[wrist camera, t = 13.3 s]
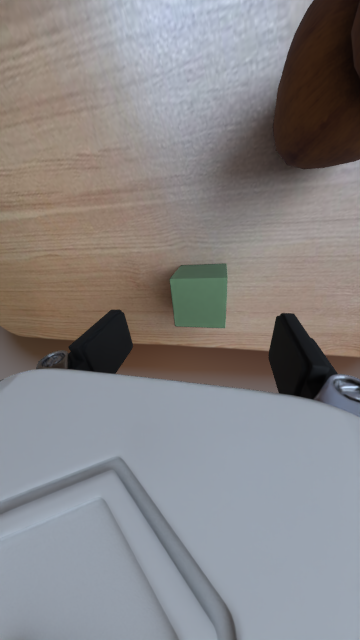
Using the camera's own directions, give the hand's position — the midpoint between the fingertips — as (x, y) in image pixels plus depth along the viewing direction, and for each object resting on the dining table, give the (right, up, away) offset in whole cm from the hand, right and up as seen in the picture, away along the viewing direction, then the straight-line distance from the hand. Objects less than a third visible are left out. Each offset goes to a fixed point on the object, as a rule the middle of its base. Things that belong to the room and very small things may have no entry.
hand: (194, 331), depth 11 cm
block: (+2, +4, +7) cm, 9 cm away
